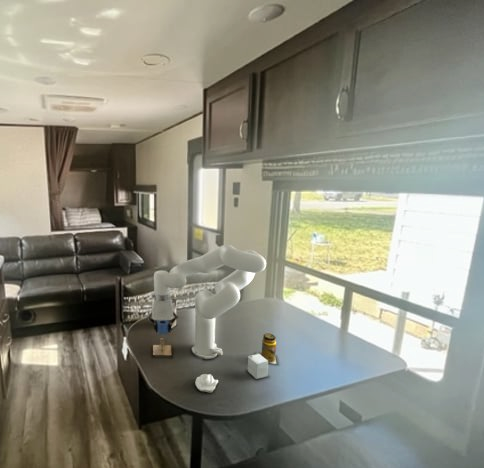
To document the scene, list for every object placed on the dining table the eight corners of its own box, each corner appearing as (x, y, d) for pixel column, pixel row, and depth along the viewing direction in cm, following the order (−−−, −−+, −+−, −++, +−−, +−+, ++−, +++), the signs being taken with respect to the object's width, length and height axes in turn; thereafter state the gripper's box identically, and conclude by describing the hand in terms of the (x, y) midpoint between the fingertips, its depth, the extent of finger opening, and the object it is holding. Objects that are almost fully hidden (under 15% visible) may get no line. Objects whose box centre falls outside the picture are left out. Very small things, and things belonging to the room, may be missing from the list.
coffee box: (168, 331, 170) (168, 304, 167) (158, 328, 173) (158, 301, 171) (176, 325, 177) (176, 299, 174) (167, 322, 181) (167, 296, 178)
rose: (223, 381, 120) (201, 385, 117) (223, 391, 120) (201, 395, 118) (212, 367, 129) (191, 370, 127) (212, 376, 130) (191, 379, 128)
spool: (170, 330, 148) (170, 321, 147) (164, 335, 143) (164, 325, 142) (160, 327, 151) (160, 318, 150) (154, 332, 146) (154, 322, 145)
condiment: (276, 364, 138) (278, 340, 135) (257, 361, 140) (258, 337, 138) (274, 355, 144) (276, 332, 142) (256, 353, 147) (257, 330, 145)
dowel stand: (170, 347, 153) (170, 334, 152) (171, 357, 144) (171, 343, 143) (153, 346, 154) (153, 334, 152) (152, 357, 145) (152, 343, 144)
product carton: (267, 376, 129) (268, 361, 128) (255, 379, 127) (256, 363, 126) (258, 368, 135) (259, 353, 134) (247, 370, 133) (247, 355, 132)
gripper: (144, 299, 141) (145, 334, 144) (180, 299, 140) (181, 334, 143) (144, 293, 148) (145, 327, 151) (179, 293, 147) (179, 327, 150)
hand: (162, 330), depth 147 cm, fingers closed on spool, 5 cm apart
